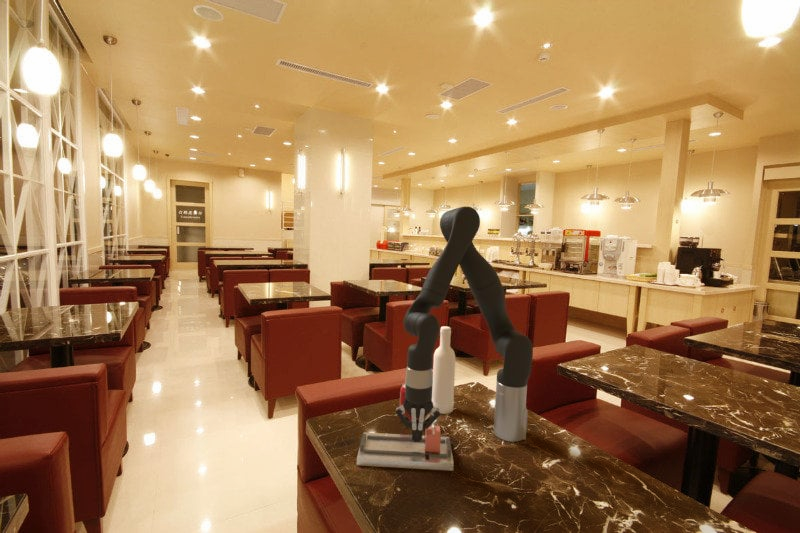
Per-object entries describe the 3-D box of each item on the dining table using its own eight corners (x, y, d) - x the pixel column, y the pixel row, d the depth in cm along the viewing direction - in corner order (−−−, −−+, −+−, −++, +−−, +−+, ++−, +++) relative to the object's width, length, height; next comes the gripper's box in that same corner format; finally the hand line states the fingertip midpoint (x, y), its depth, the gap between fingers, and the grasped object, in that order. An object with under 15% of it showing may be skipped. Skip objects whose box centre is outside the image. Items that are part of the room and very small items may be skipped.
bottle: (458, 410, 133) (461, 328, 130) (441, 416, 128) (444, 331, 126) (443, 402, 139) (446, 323, 137) (426, 407, 135) (430, 326, 132)
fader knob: (438, 442, 108) (439, 424, 107) (440, 452, 103) (440, 433, 102) (425, 441, 108) (425, 423, 108) (425, 451, 103) (426, 432, 103)
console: (449, 443, 112) (449, 431, 112) (453, 470, 99) (453, 457, 99) (363, 438, 113) (363, 427, 113) (356, 465, 100) (356, 452, 100)
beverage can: (416, 425, 122) (417, 390, 121) (397, 423, 123) (398, 388, 122) (419, 416, 128) (420, 382, 127) (401, 414, 129) (402, 380, 128)
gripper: (441, 378, 108) (439, 435, 109) (396, 375, 108) (394, 432, 110) (443, 388, 100) (440, 449, 102) (394, 386, 101) (392, 447, 102)
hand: (416, 440), depth 106 cm, fingers closed
